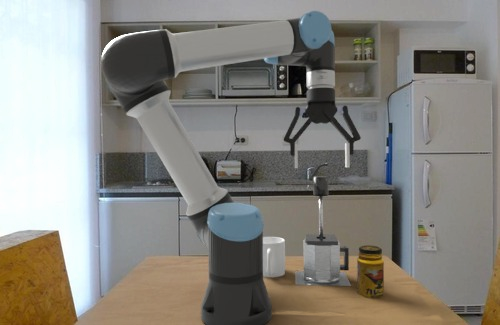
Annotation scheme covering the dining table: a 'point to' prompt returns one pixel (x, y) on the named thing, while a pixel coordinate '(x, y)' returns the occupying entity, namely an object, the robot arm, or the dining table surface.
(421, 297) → the dining table surface
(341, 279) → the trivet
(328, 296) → the dining table surface
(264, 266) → the cup
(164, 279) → the dining table surface
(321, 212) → the plunger
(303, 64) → the robot arm
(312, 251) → the carafe
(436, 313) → the dining table surface
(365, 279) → the condiment
